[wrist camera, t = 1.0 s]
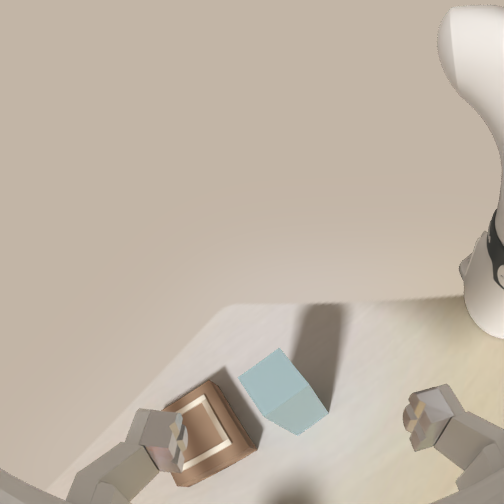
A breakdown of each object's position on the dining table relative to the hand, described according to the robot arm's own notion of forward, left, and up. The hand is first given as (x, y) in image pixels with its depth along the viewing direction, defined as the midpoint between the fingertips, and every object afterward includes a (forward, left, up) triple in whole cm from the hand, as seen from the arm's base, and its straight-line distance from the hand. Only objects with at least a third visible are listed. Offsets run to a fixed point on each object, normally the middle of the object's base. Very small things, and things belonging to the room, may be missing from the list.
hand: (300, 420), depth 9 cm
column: (+1, -9, -30) cm, 31 cm away
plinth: (+15, -14, -30) cm, 36 cm away
